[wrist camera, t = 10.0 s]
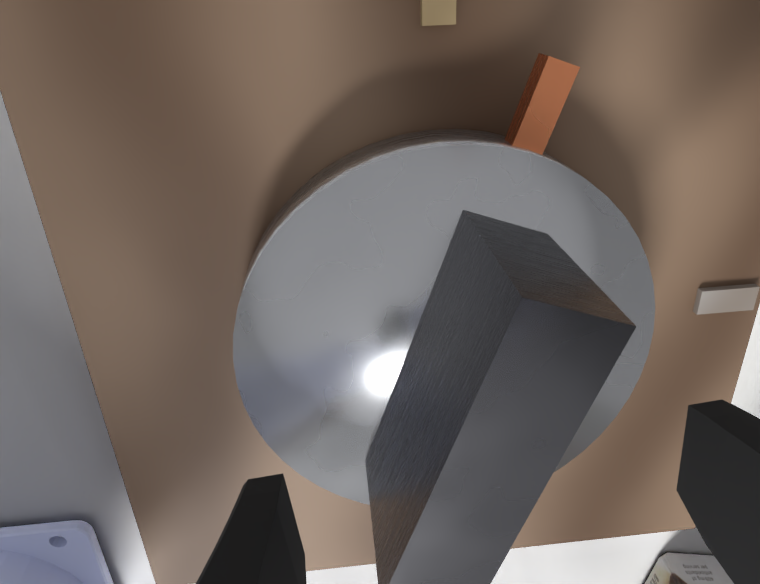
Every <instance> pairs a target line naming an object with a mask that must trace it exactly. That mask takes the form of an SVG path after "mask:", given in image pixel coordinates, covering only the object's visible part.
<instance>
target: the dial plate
mask: <svg viewBox="0 0 760 584" xmlns="http://www.w3.org/2000/svg"><path fill="white" fill-rule="evenodd" d="M539 53H540V54H544V55H548V56H551V57H553V58H556V59H559V60H562V61H565V62H567V63H570V64H573V65H576V66H579V67H580V69H579V71H578V73H577V76H576V78H575V80H574V83H573V85H572V87H571V90H570V92H569V94H568V97H567V99H566V101H565V104H564V106H563V108H562V110H561V113H560V115H559V117H558V120H557V122H556V124H555V127H554V129H553V131H552V134H551V136H550V138H549V141H548V143H547V145H546V148H545V150H544V152H545V153H547V154H549V155H550V156H552V157H554V158H556V159H557V160H559V161H561V162H562V163H564V164H565V165H566V166H568V167H569V168H571V169H572V170H574V171H575V172H576V173H578V174H579V175H581V176H582V177H584V178H585V179H587V180H588V181H589V182H590V183H592V184H593V185H594V186H595V187H596V188H598V189H599V190H600V191H601V192H603V193H604V194H605V195H606V196H607V197H608V198H609V199H610V200H611V201H612V202H613V203H614V204H615V205H616V207H617V208H618V209H619V210H620V211H621V212H622V213H623V215H624V216H625V217H626V219H627V220H628V222H629V223H630V225H631V227H632V228H633V230H634V231H635V233H636V235H637V236H638V238H639V240H640V242H641V245H642V247H643V250H644V252H645V254H646V257H647V259H648V262H649V267H650V271H651V275H652V279H653V284H654V296H655V319H654V331H653V336H652V340H651V345H650V349H649V354H648V357H647V359H646V362H645V365H644V368H643V370H642V373H641V376H640V378H639V380H638V382H637V384H636V385H635V387H634V389H633V391H632V393H631V395H630V397H629V398H628V400H627V401H626V403H625V404H624V406H623V407H622V409H621V410H620V412H619V413H618V415H617V416H616V417H615V419H614V420H613V421H612V422H611V423H610V424H609V426H608V427H607V428H606V429H605V430H604V431H603V433H602V434H601V435H600V436H599V437H598V438H597V439H596V440H595V441H593V442H592V443H591V444H590V445H589V446H588V447H587V448H586V449H585V450H584V451H583V452H581V453H580V454H579V455H578V456H576V457H575V458H574V459H572V460H571V461H570V462H568V463H567V464H566V465H565V466H563V467H561V468H560V469H558V470H557V471H555V472H554V473H553V474H552V476H551V478H550V480H549V481H548V483H547V485H546V487H545V488H544V490H543V492H542V494H541V495H540V497H539V499H538V501H537V502H536V504H535V506H534V508H533V509H532V511H531V513H530V515H529V517H528V518H527V520H526V522H525V524H524V525H523V527H522V529H521V531H520V532H519V534H518V536H517V538H516V539H515V541H514V543H513V545H512V546H511V548H510V549H512V548H521V547H530V546H539V545H548V544H557V543H566V542H575V541H584V540H593V539H602V538H611V537H621V536H630V535H639V534H648V533H657V532H666V531H675V530H684V529H693V528H695V527H696V526H695V524H694V522H693V520H692V519H691V517H690V515H689V513H688V511H687V509H686V507H685V505H684V503H683V502H682V500H681V498H680V496H679V494H678V492H677V490H676V489H677V482H678V475H679V468H680V461H681V454H682V447H683V439H684V432H685V425H686V418H687V411H688V405H691V404H697V403H703V402H709V401H715V400H721V399H722V400H724V401H726V402H728V403H730V404H731V401H732V398H733V394H734V391H735V387H736V384H737V380H738V377H739V373H740V370H741V366H742V363H743V359H744V356H745V352H746V349H747V345H748V342H749V338H750V335H751V331H752V328H753V324H754V321H755V317H756V314H757V310H758V307H759V303H760V0H0V91H1V94H2V97H3V100H4V103H5V107H6V110H7V113H8V116H9V119H10V123H11V126H12V129H13V132H14V135H15V138H16V142H17V145H18V148H19V151H20V154H21V157H22V161H23V164H24V167H25V170H26V173H27V176H28V180H29V183H30V186H31V189H32V192H33V195H34V199H35V202H36V205H37V208H38V211H39V215H40V218H41V221H42V224H43V227H44V230H45V234H46V237H47V240H48V243H49V246H50V249H51V253H52V256H53V259H54V262H55V265H56V268H57V272H58V275H59V278H60V281H61V284H62V287H63V291H64V294H65V297H66V300H67V303H68V306H69V310H70V313H71V316H72V319H73V322H74V326H75V329H76V332H77V335H78V338H79V341H80V345H81V348H82V351H83V354H84V357H85V360H86V364H87V367H88V370H89V373H90V376H91V379H92V383H93V386H94V389H95V392H96V395H97V398H98V402H99V405H100V408H101V411H102V414H103V418H104V421H105V424H106V427H107V430H108V433H109V437H110V440H111V443H112V446H113V449H114V452H115V456H116V459H117V462H118V465H119V468H120V471H121V475H122V478H123V481H124V484H125V487H126V490H127V494H128V497H129V500H130V503H131V506H132V510H133V513H134V516H135V519H136V522H137V525H138V529H139V532H140V535H141V538H142V541H143V544H144V548H145V551H146V554H147V557H148V560H149V563H150V567H151V570H152V573H153V576H154V579H155V582H156V584H194V583H196V582H197V580H198V578H199V577H200V575H201V573H202V571H203V569H204V567H205V565H206V563H207V561H208V559H209V557H210V556H211V554H212V552H213V550H214V548H215V546H216V544H217V542H218V539H219V537H220V535H221V533H222V531H223V529H224V527H225V525H226V523H227V521H228V519H229V516H230V514H231V512H232V510H233V508H234V505H235V503H236V501H237V499H238V496H239V494H240V492H241V489H242V487H243V485H244V484H245V483H246V481H247V480H248V479H253V478H259V477H265V476H270V475H276V474H282V473H283V475H284V478H285V482H286V486H287V489H288V493H289V497H290V501H291V504H292V508H293V512H294V515H295V519H296V523H297V527H298V530H299V534H300V538H301V541H302V545H303V549H304V553H305V566H306V571H312V570H321V569H330V568H339V567H348V566H357V565H366V564H375V563H376V557H375V548H374V539H373V529H372V520H371V510H370V505H368V504H363V503H360V502H357V501H354V500H350V499H347V498H344V497H341V496H339V495H337V494H334V493H332V492H330V491H328V490H326V489H324V488H321V487H319V486H318V485H316V484H314V483H313V482H311V481H309V480H308V479H306V478H305V477H303V476H301V475H300V474H299V473H297V472H296V471H295V470H294V469H292V468H291V467H290V466H289V465H287V464H286V463H285V462H284V461H282V460H281V458H280V457H279V456H278V455H277V454H276V453H275V452H274V451H273V450H272V449H271V448H270V447H269V446H268V445H267V443H266V442H265V441H264V439H263V438H262V436H261V435H260V433H259V432H258V431H257V429H256V428H255V426H254V425H253V423H252V421H251V419H250V417H249V415H248V413H247V411H246V409H245V407H244V404H243V401H242V398H241V395H240V392H239V389H238V386H237V382H236V376H235V369H234V363H233V332H234V326H235V320H236V314H237V308H238V304H239V300H240V296H241V292H242V288H243V284H244V280H245V277H246V274H247V270H248V267H249V264H250V261H251V258H252V255H253V253H254V251H255V249H256V247H257V245H258V243H259V241H260V239H261V237H262V235H263V233H264V232H265V230H266V229H267V227H268V226H269V224H270V223H271V221H272V220H273V218H274V217H275V216H276V214H277V213H278V211H279V210H280V209H281V208H282V207H283V206H284V204H285V203H286V202H287V201H288V200H289V199H290V198H291V197H292V196H293V195H294V194H295V192H296V191H297V190H298V189H300V188H301V187H302V186H303V185H304V184H306V183H307V182H308V181H309V180H310V179H312V178H313V177H314V176H315V175H316V174H318V173H319V172H320V171H322V170H323V169H325V168H326V167H328V166H330V165H331V164H333V163H334V162H336V161H337V160H339V159H341V158H342V157H344V156H346V155H348V154H350V153H352V152H355V151H357V150H359V149H361V148H363V147H365V146H368V145H370V144H372V143H376V142H379V141H382V140H385V139H388V138H392V137H395V136H398V135H403V134H409V133H414V132H420V131H426V130H443V129H463V130H474V131H484V132H489V133H493V134H498V135H502V136H506V134H507V131H508V129H509V126H510V124H511V121H512V119H513V116H514V114H515V111H516V109H517V106H518V104H519V101H520V99H521V96H522V94H523V91H524V89H525V86H526V84H527V81H528V79H529V76H530V74H531V71H532V69H533V66H534V64H535V61H536V59H537V56H538V54H539Z"/></svg>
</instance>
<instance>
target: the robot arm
mask: <svg viewBox="0 0 760 584" xmlns="http://www.w3.org/2000/svg"><path fill="white" fill-rule="evenodd" d="M676 490H677V492H678V494H679V496H680V498H681V500H682V502H683V503H684V505H685V507H686V509H687V511H688V513H689V515H690V517H691V519H692V520H693V522H694V524H695V526H696V527H697V529H698V531H699V533H700V534H701V536H702V538H703V540H704V541H705V543H706V545H707V546H708V548H709V549H710V550H711V552H712V553H713V555H714V556H715V558H716V559H717V561H718V562H719V563H720V565H721V566H722V568H723V569H724V570H725V572H726V573H727V575H728V576H729V577H730V579H731V580H732V582H733V583H734V584H760V419H759V418H757V417H755V416H753V415H751V414H750V413H748V412H746V411H744V410H742V409H740V408H738V407H736V406H734V405H732V404H730V403H728V402H726V401H724V400H722V399H721V400H715V401H709V402H703V403H697V404H691V405H688V411H687V418H686V425H685V432H684V439H683V447H682V454H681V461H680V468H679V475H678V482H677V489H676ZM59 536H61V537H59ZM0 584H113V581H112V578H111V575H110V573H109V570H108V567H107V564H106V562H105V559H104V556H103V553H102V551H101V548H100V545H99V542H98V540H97V537H96V534H95V531H94V529H93V528H92V526H91V525H90V524H88V523H87V522H84V521H81V520H71V521H61V522H51V523H41V524H32V525H22V526H12V527H2V528H0ZM196 584H306V566H305V553H304V549H303V545H302V541H301V538H300V534H299V530H298V527H297V523H296V519H295V515H294V512H293V508H292V504H291V501H290V497H289V493H288V489H287V486H286V482H285V478H284V475H283V473H282V474H276V475H270V476H265V477H259V478H253V479H248V480H247V481H246V483H245V484H244V485H243V487H242V489H241V492H240V494H239V496H238V499H237V501H236V503H235V505H234V508H233V510H232V512H231V514H230V516H229V519H228V521H227V523H226V525H225V527H224V529H223V531H222V533H221V535H220V537H219V539H218V542H217V544H216V546H215V548H214V550H213V552H212V554H211V556H210V557H209V559H208V561H207V563H206V565H205V567H204V569H203V571H202V573H201V575H200V577H199V578H198V580H197V582H196Z"/></svg>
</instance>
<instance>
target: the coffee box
mask: <svg viewBox="0 0 760 584" xmlns="http://www.w3.org/2000/svg"><path fill="white" fill-rule="evenodd" d="M645 584H734V583H733V582H732V580H731V579H730V577H729V576H728V575H727V573H726V572H725V570H724V569H723V568H722V566H721V565H720V563H719V562H718V561H717V559H716V558H715V556H713V555H697V554H682V553H669V552H668V553H665V554H664V555H662V556H661V557H659V559H658V561H657V562H656V564H655V566H654V568H653V570H652V571H651V573H650V575H649V577H648V579H647V580H646V582H645Z"/></svg>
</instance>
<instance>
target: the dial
mask: <svg viewBox="0 0 760 584" xmlns="http://www.w3.org/2000/svg"><path fill="white" fill-rule="evenodd" d="M579 69H580V67H579V66H576V65H573V64H570V63H567V62H565V61H562V60H559V59H556V58H553V57H551V56H548V55H544V54H540V53H539V54H538V56H537V59H536V61H535V64H534V66H533V69H532V71H531V74H530V76H529V79H528V81H527V84H526V86H525V89H524V91H523V94H522V96H521V99H520V101H519V104H518V106H517V109H516V111H515V114H514V116H513V119H512V121H511V124H510V126H509V129H508V131H507V134H506V136H502V135H498V134H493V133H489V132H484V131H474V130H463V129H443V130H426V131H420V132H414V133H409V134H403V135H398V136H395V137H392V138H388V139H385V140H382V141H379V142H376V143H372V144H370V145H368V146H365V147H363V148H361V149H359V150H357V151H355V152H352V153H350V154H348V155H346V156H344V157H342V158H341V159H339V160H337V161H336V162H334V163H333V164H331V165H330V166H328V167H326V168H325V169H323V170H322V171H320V172H319V173H318V174H316V175H315V176H314V177H313V178H312V179H310V180H309V181H308V182H307V183H306V184H304V185H303V186H302V187H301V188H300V189H298V190H297V191H296V192H295V194H294V195H293V196H292V197H291V198H290V199H289V200H288V201H287V202H286V203H285V204H284V206H283V207H282V208H281V209H280V210H279V211H278V213H277V214H276V216H275V217H274V218H273V220H272V221H271V223H270V224H269V226H268V227H267V229H266V230H265V232H264V233H263V235H262V237H261V239H260V241H259V243H258V245H257V247H256V249H255V251H254V253H253V255H252V258H251V261H250V264H249V267H248V270H247V274H246V277H245V280H244V284H243V288H242V292H241V296H240V300H239V304H238V308H237V314H236V320H235V326H234V332H233V363H234V369H235V376H236V382H237V386H238V389H239V392H240V395H241V398H242V401H243V404H244V407H245V409H246V411H247V413H248V415H249V417H250V419H251V421H252V423H253V425H254V426H255V428H256V429H257V431H258V432H259V433H260V435H261V436H262V438H263V439H264V441H265V442H266V443H267V445H268V446H269V447H270V448H271V449H272V450H273V451H274V452H275V453H276V454H277V455H278V456H279V457H280V458H281V460H282V461H284V462H285V463H286V464H287V465H289V466H290V467H291V468H292V469H294V470H295V471H296V472H297V473H299V474H300V475H301V476H303V477H305V478H306V479H308V480H309V481H311V482H313V483H314V484H316V485H318V486H319V487H321V488H324V489H326V490H328V491H330V492H332V493H334V494H337V495H339V496H341V497H344V498H347V499H350V500H354V501H357V502H360V503H363V504H368V505H370V510H371V520H372V529H373V539H374V548H375V557H376V567H377V576H378V584H490V583H491V582H492V580H493V578H494V576H495V575H496V573H497V571H498V569H499V568H500V566H501V564H502V562H503V560H504V559H505V557H506V555H507V553H508V552H509V550H510V548H511V546H512V545H513V543H514V541H515V539H516V538H517V536H518V534H519V532H520V531H521V529H522V527H523V525H524V524H525V522H526V520H527V518H528V517H529V515H530V513H531V511H532V509H533V508H534V506H535V504H536V502H537V501H538V499H539V497H540V495H541V494H542V492H543V490H544V488H545V487H546V485H547V483H548V481H549V480H550V478H551V476H552V474H553V473H554V472H555V471H557V470H558V469H560V468H561V467H563V466H565V465H566V464H567V463H568V462H570V461H571V460H572V459H574V458H575V457H576V456H578V455H579V454H580V453H581V452H583V451H584V450H585V449H586V448H587V447H588V446H589V445H590V444H591V443H592V442H593V441H595V440H596V439H597V438H598V437H599V436H600V435H601V434H602V433H603V431H604V430H605V429H606V428H607V427H608V426H609V424H610V423H611V422H612V421H613V420H614V419H615V417H616V416H617V415H618V413H619V412H620V410H621V409H622V407H623V406H624V404H625V403H626V401H627V400H628V398H629V397H630V395H631V393H632V391H633V389H634V387H635V385H636V384H637V382H638V380H639V378H640V376H641V373H642V370H643V368H644V365H645V362H646V359H647V357H648V354H649V349H650V345H651V340H652V336H653V331H654V319H655V296H654V284H653V279H652V275H651V271H650V267H649V262H648V259H647V257H646V254H645V252H644V250H643V247H642V245H641V242H640V240H639V238H638V236H637V235H636V233H635V231H634V230H633V228H632V227H631V225H630V223H629V222H628V220H627V219H626V217H625V216H624V215H623V213H622V212H621V211H620V210H619V209H618V208H617V207H616V205H615V204H614V203H613V202H612V201H611V200H610V199H609V198H608V197H607V196H606V195H605V194H604V193H603V192H601V191H600V190H599V189H598V188H596V187H595V186H594V185H593V184H592V183H590V182H589V181H588V180H587V179H585V178H584V177H582V176H581V175H579V174H578V173H576V172H575V171H574V170H572V169H571V168H569V167H568V166H566V165H565V164H564V163H562V162H561V161H559V160H557V159H556V158H554V157H552V156H550V155H549V154H547V153H545V152H544V150H545V148H546V145H547V143H548V141H549V138H550V136H551V134H552V131H553V129H554V127H555V124H556V122H557V120H558V117H559V115H560V113H561V110H562V108H563V106H564V104H565V101H566V99H567V97H568V94H569V92H570V90H571V87H572V85H573V83H574V80H575V78H576V76H577V73H578V71H579Z"/></svg>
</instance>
